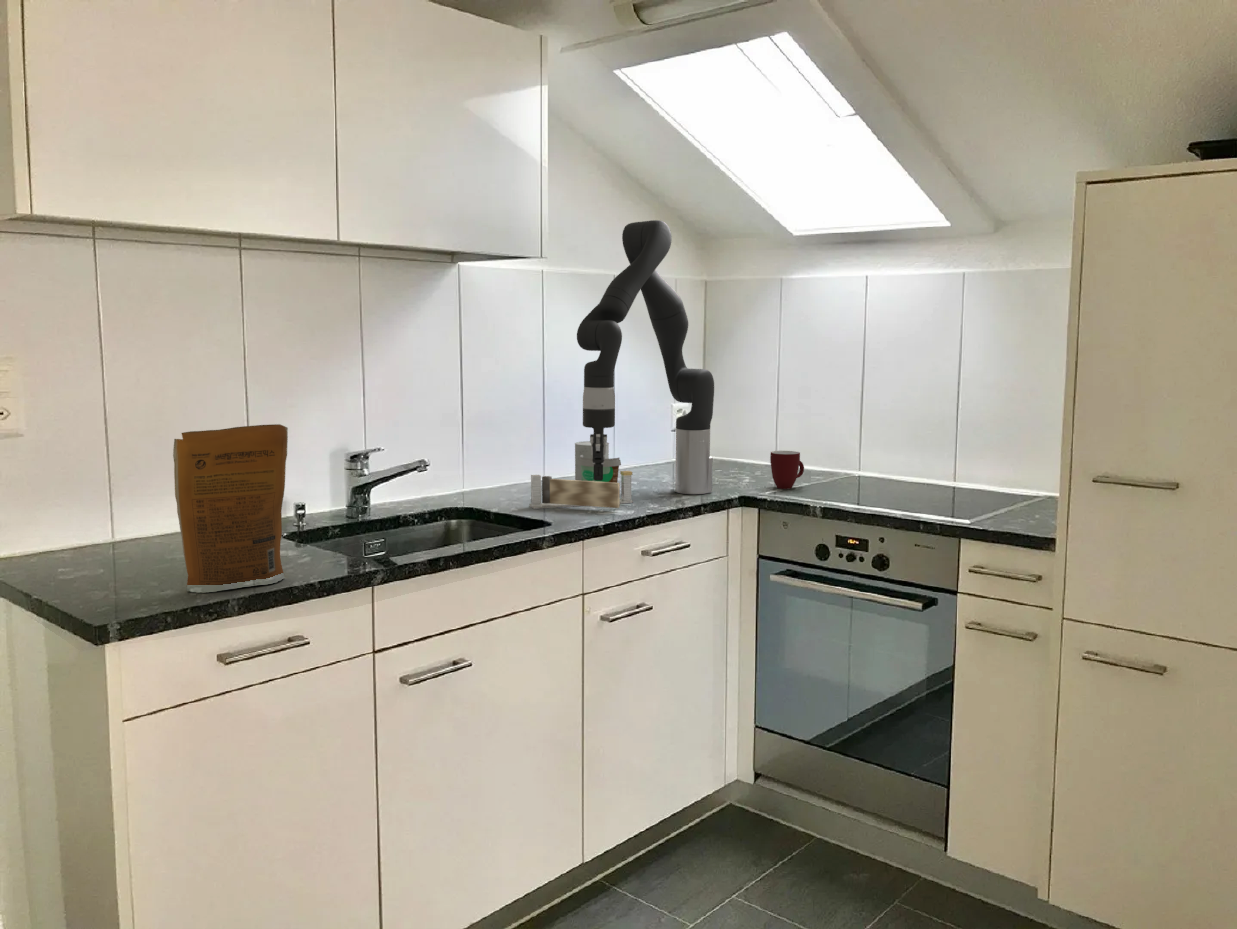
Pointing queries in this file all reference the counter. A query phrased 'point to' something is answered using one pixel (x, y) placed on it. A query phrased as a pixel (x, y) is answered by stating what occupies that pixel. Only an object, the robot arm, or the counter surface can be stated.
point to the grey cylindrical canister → (585, 455)
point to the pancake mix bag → (231, 502)
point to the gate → (580, 492)
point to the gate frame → (537, 505)
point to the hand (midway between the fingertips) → (598, 479)
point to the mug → (785, 468)
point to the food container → (608, 469)
